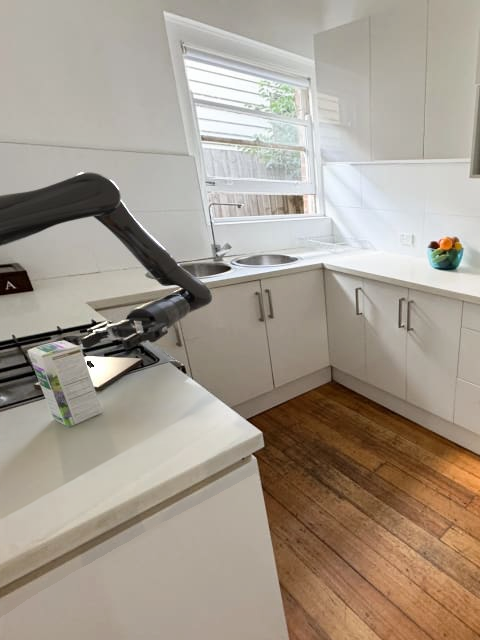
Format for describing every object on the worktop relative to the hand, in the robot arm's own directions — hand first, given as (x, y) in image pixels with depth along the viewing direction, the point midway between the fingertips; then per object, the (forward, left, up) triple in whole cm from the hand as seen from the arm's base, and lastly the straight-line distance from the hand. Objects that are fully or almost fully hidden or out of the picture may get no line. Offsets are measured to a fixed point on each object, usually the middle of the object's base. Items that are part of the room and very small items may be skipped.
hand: (104, 344), depth 78 cm
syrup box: (0, -10, -11) cm, 15 cm away
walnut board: (-10, +6, -10) cm, 16 cm away
